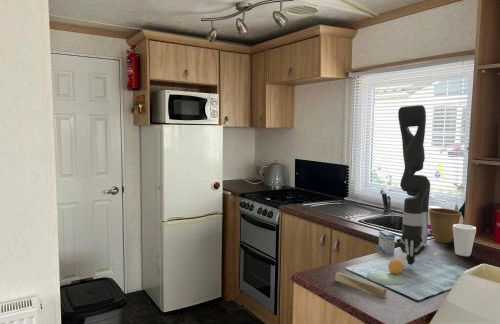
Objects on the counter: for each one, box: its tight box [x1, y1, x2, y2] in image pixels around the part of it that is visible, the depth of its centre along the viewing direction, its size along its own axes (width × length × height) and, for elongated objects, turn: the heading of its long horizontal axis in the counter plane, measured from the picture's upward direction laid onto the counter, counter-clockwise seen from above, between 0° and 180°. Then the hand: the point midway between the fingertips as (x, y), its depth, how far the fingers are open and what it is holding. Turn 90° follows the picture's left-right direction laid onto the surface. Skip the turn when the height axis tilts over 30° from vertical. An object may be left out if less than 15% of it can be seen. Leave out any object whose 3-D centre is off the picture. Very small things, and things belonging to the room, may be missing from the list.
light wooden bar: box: [335, 271, 388, 300], centre depth 139 cm, size 2×20×3 cm, turn 39°
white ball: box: [393, 255, 409, 270], centre depth 159 cm, size 6×6×6 cm
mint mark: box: [366, 270, 406, 286], centre depth 150 cm, size 14×14×1 cm
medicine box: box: [378, 230, 396, 254], centre depth 184 cm, size 8×4×9 cm, turn 5°
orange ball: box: [387, 259, 404, 275], centre depth 154 cm, size 6×6×6 cm
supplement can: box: [427, 205, 442, 236], centre depth 216 cm, size 8×8×15 cm
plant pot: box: [429, 207, 462, 244], centre depth 201 cm, size 15×15×16 cm
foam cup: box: [453, 223, 477, 257], centre depth 180 cm, size 10×9×13 cm
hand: (410, 264), depth 161 cm, fingers closed
